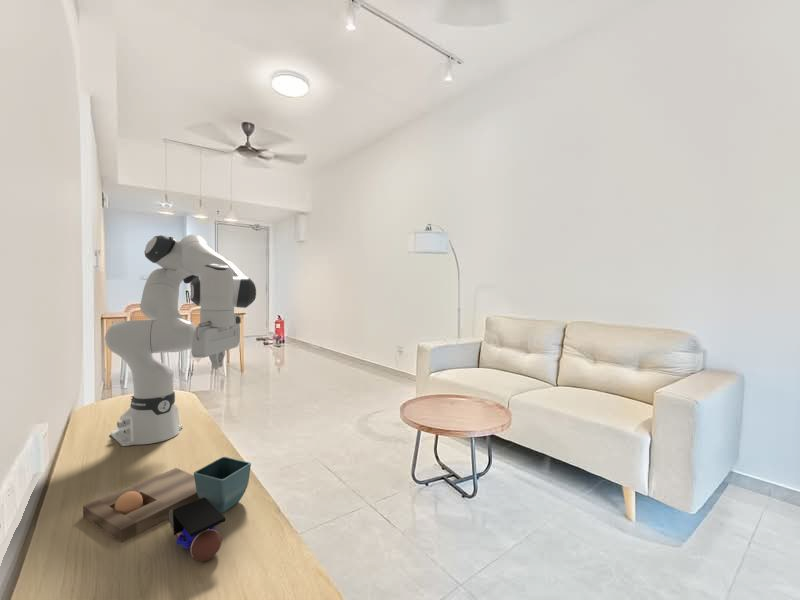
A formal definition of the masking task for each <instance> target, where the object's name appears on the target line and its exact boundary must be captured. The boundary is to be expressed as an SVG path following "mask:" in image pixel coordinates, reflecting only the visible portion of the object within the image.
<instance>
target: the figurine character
mask: <svg viewBox="0 0 800 600" xmlns="http://www.w3.org/2000/svg"><path fill="white" fill-rule="evenodd" d="M168 522H169V524H170V527H171V528H172V529H173V535H174V536H177V540H176V545H178V546H183V547H184V548H185V549H189V548H190V554H191V557H192V558H193V559H194V560H196V561H197V562H206V561H209V560H211V559H212V558H213V557H215V556H216V554H218V552H219V550H220V548H221V546H222V536H221V534H220V533H219V532H218V531H217V530H215V529H216V526H218V525H221V524H222V523H225V522H227V519H226V517H225V516H224V515H223V514H222V512H219V511H218V510H217V509H216V508H215V507H214V506H213V505H212V504H211V503H210V502H209V501H208V500H207V499H206V498H205V497H204V498H201V499H199V500H196V501H194V502H191V503H189V504H186V505H184V506H181V507H179V508H175V509H172V510H170V511H169V518H168Z"/></svg>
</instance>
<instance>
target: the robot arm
mask: <svg viewBox="0 0 800 600" xmlns="http://www.w3.org/2000/svg"><path fill="white" fill-rule="evenodd" d="M144 256H145V258H146V259H147V260H148V261H150V262H151V263H152V264H156V265H158V266H160V267H161V268H156V269H154V270H153V271H151V273H150V274H149V276H148V277H147V279H146V281H145V284H144V287H143V290H142V294H141V295H142V296H141V300H140V304H139V308H140V312H141V313H142V315H144V317H146V318H147V319H145V320H144V319H142V320H141V319H139V320H137V319H136V320H135V319H133V320H131V319H130V320H126V321H125V320H124V321H120V322H115V323H113V324H112V325H111V326H109V327H108V329H107V330H106V333H105V337H104V341H105V344H106V347H107V349H109V351H111V352H112V353H113V354H116V355H118V356H119V357H120V358H121V359H122V360H123V361H125V363H126V364H127V365H128V367H129V369H130V372H131V376H132V382H133V383H132V384H133V385H132V386H133V395H132V396H130V405H129V406H130V407H129V408H128V409H127V410H126V411H125V412H124V413H122V414H121V415H120V417H119V420H118V421H116V427H117V428H116V429H115V428H114V429H113V430H111V431H110V436H111V437H112V438H113V439H114V440H115V441H116V442H117V443H118V444H119V445H120V446H122V447H128V446H137V445H150V444H151V445H152V444H155V443H161V442H164V441H167V440H169V439H172V438H174V437H176V436H177V435H178V434H179V432H180V430H182V429H183V428H184V426H183V424H182V423H180V413H179V407H178V405H177V404H175V402H176V394H175V391H174V370H173V369H172V368H171V366H170V365H167V364H165V363H164V362H160V361H158V360H156V359H155V358H154V356H153V354H161V353H162V354H163V353H165V354H166V353H178V352H183V351H187V350H191V356H192V357H193V358H196V359H197V358H198V359H199V358H202V359H203V358H207V357H209V360H210V362H211V368H212V369H213V370H215V369H219V368H222V367H223V366H224V364H223V363H224V359H225V355H226V352H227V351H228V350H233V349H235V348H237V347H238V346H239V345H240V339H241V327H240V325H241V323H242V317H241V316H239V315H237V314H236V313H235V308H242V309H243V308H244V309H246V308H248V307H249V306H250V305H251V304H253V302H254V301H255V300H256V297H257V287H256V284H255V283H254V281H253V280H252V279H251V278H250V277H249V276H246V275H245V274H243V272H242V271H241V270H240V269H239V268H238V267H237V266H236V265H235V264H234V263H233V262H232V261H231V260H229V259H228V258H226V257H224V256H222V255H220V254H219V253H218V252H216V251H215V250H213V247H212V246H211V245H210V243H209V242H208V241H207V240H206V239H205V238H204V237H202V236H201V235H198V234H188V235H186V236H184V237H183V238H182V239H181V240H179V241H178V240H176V239H175V238H174V237H173V236H166V235H161V234H160V235H156V236H153V237H152V238H151V239H150V240H149V241H148V242H147V243H146V245H145V249H144ZM182 282H183V283H184V284H190V285H189V286H190V299H189V300H190V301H191V302H192V303H193V304H195V306H197V307H200V308H199V311H200V312H199V323H198V325H197V327H196V325H195V324H194V323H193V322H191V321H190V320H188V319H186V318H185V317H183V315H182V314H181V313H180V312H179V296H180V294H179V293H180V285H181V283H182ZM182 427H183V428H182ZM181 428H182V429H181Z"/></svg>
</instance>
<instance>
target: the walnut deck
mask: <svg viewBox="0 0 800 600" xmlns="http://www.w3.org/2000/svg"><path fill="white" fill-rule="evenodd" d="M129 491H136V492H138V493H140V494H141V496H142V498H143V503H142V506H141V508H139V509H136V510H134V511H132V512H130V513H128V514H126V515H123V514H122V513H120V512H118V511H117V510H115V503H116V501H117V500H118V498H119V497H120V496H121V495H123V494H124V493H126V492H129ZM196 500H199V497H198V494H197V490H196V485H195V478H194V474H191V473H190V472H187V471H184V470H182V469H179V468H177V467H175V468H172V469H170V470H167V471H165V472H162V473H160V474H158V475H155V476H153V477H150V478H148V479H146V480H143V481H140V482H137V483H136V484H132V485H131V486H128V487H126V488H123V489H121V490H119V491H116V492H113V493H111V494H109V495H106V496H104V497H101V498H99V499H96V500H94V501H91V502H90V503H86V504H84V505H82V517H83V518H84V520H87V521H88V522H90V523H91V524H93V526H96V527H97V528H98V529H100V530H102V531H103V532H105V533H106V534H108V536H109V535H110V536H111V537H113V538H114V539H115V540H117V541H119V542H120V543H122V542H124V541H127V540H128V539H131V538H132V537H134V536H136V535H139V534H140V533H143V532H144V531H146V530H147V529H150V528H151V527H154V526H155V525H158V524H160V523H161V522H164V521H165V520H167V519H169V511H170V510H172V509H175V508H179V507H181V506H184V505H186V504H189V503H191V502H194V501H196Z"/></svg>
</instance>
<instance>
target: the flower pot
mask: <svg viewBox="0 0 800 600" xmlns="http://www.w3.org/2000/svg"><path fill="white" fill-rule="evenodd" d="M251 466H252V463H251V462H249V461H244V460H240V459H235V458H231V457H227V456H222V457H220V458H217V459H216V460H214V461H213V462H209V464H207V465H205V466H204V467H202V468H199V469H197V470H196V471H194V472H193V475H194V478H195V485H196V490H197V494H198V497H199V499H201V498H204V497H205V498H206V499H207V500H208V501H209V502H210V503H211V504H212V505H213V506H214V507H215V508H216V509H217V510H218V511H219V512H220V513H221V514H222V513H225V512H227V511H228V510H230V509H231V508H232V507H234V506H235V505H237V504H238V503H239V502H240V501H241V499H242V498H243V496H244V495H245V493H246V491H247V487H248V485H249V480H250V473H251Z"/></svg>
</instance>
